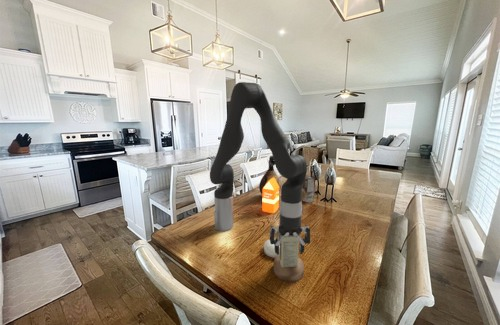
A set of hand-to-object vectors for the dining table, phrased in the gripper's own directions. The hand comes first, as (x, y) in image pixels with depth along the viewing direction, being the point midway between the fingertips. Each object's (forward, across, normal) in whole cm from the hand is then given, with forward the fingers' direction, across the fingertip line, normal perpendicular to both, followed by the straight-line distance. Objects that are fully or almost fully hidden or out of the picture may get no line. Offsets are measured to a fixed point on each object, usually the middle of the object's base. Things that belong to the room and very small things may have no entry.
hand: (289, 253), depth 75 cm
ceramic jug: (+8, +2, +74) cm, 74 cm away
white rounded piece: (+7, -3, +12) cm, 14 cm away
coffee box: (+8, +27, +68) cm, 74 cm away
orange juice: (+8, 0, +53) cm, 54 cm away
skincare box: (+4, 0, 0) cm, 5 cm away
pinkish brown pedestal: (+7, 0, 0) cm, 7 cm away
